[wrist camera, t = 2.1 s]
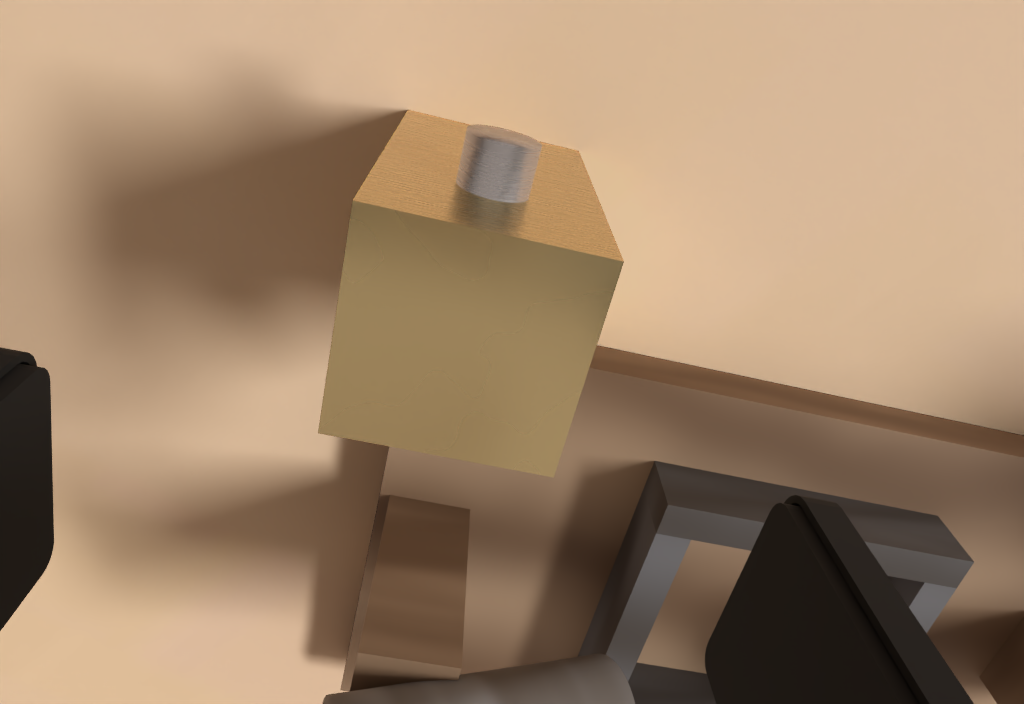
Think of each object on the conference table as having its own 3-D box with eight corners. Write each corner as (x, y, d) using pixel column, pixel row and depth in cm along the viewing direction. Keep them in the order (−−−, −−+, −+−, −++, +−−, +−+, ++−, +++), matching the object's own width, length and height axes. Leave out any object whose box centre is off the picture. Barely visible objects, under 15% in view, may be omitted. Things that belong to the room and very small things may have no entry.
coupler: (414, 68, 19) (361, 136, 11) (589, 111, 19) (642, 203, 12) (374, 304, 21) (311, 477, 14) (527, 336, 22) (539, 518, 15)
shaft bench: (408, 305, 21) (341, 563, 12) (1173, 467, 24) (1576, 771, 15) (340, 653, 28) (263, 995, 18) (956, 749, 30) (1151, 1084, 21)
